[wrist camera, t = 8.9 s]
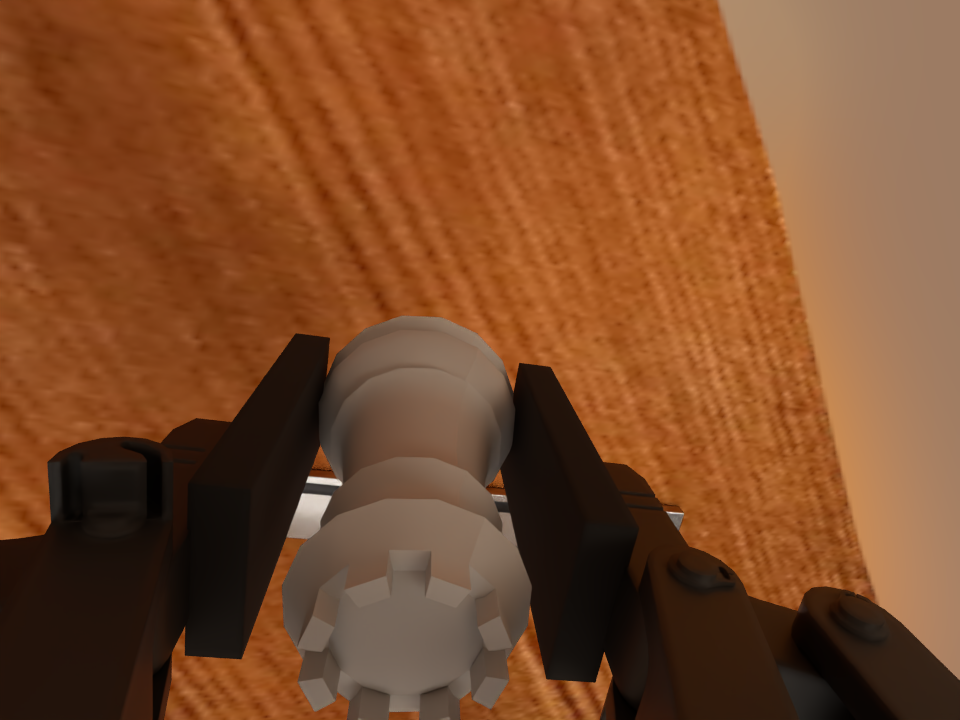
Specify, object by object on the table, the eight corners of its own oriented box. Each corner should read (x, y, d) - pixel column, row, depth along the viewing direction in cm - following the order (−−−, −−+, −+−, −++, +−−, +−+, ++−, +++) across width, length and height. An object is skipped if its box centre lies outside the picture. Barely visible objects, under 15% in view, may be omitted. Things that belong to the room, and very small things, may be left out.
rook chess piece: (396, 270, 14) (352, 419, 6) (549, 380, 15) (671, 621, 7) (287, 419, 15) (133, 708, 7) (439, 512, 16) (446, 846, 8)
